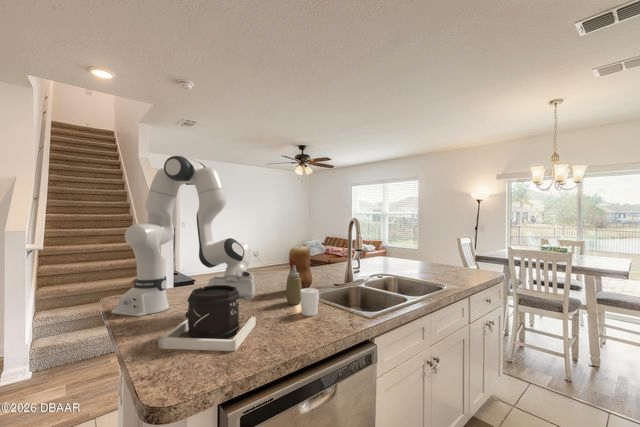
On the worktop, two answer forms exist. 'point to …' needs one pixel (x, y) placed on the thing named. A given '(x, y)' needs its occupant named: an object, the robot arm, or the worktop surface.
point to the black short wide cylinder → (213, 312)
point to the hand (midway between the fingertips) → (225, 307)
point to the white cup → (309, 301)
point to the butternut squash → (301, 264)
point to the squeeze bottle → (293, 287)
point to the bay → (174, 342)
